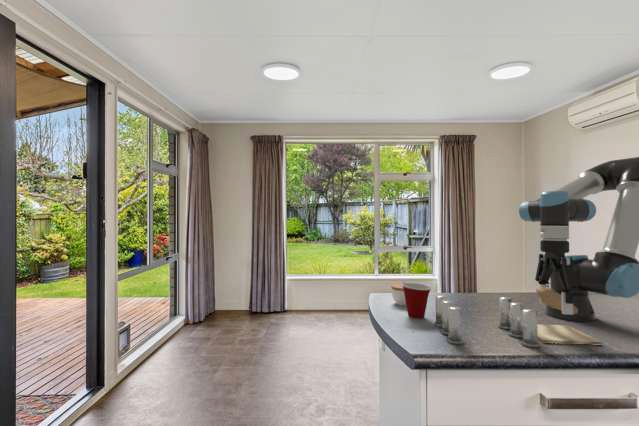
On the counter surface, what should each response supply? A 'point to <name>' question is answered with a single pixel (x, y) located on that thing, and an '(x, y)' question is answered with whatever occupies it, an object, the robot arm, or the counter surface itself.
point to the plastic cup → (416, 299)
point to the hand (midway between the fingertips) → (555, 309)
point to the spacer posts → (511, 319)
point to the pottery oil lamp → (552, 298)
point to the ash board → (563, 335)
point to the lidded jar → (398, 294)
